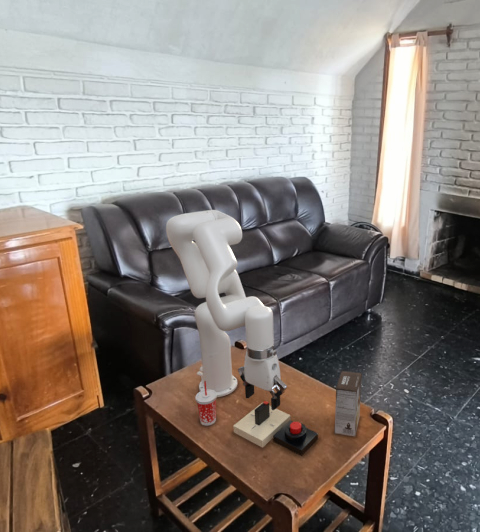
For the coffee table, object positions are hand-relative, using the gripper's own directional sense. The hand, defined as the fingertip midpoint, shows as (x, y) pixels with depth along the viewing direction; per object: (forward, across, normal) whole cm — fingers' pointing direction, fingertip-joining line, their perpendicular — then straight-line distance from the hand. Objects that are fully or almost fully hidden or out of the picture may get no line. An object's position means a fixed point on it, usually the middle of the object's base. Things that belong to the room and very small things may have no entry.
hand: (262, 401), depth 127 cm
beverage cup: (+9, +16, +7) cm, 20 cm away
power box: (+10, -11, -1) cm, 15 cm away
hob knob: (+7, +1, 0) cm, 7 cm away
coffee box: (+10, -20, -15) cm, 27 cm away
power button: (+6, -11, -1) cm, 13 cm away
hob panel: (+9, +1, 0) cm, 9 cm away
